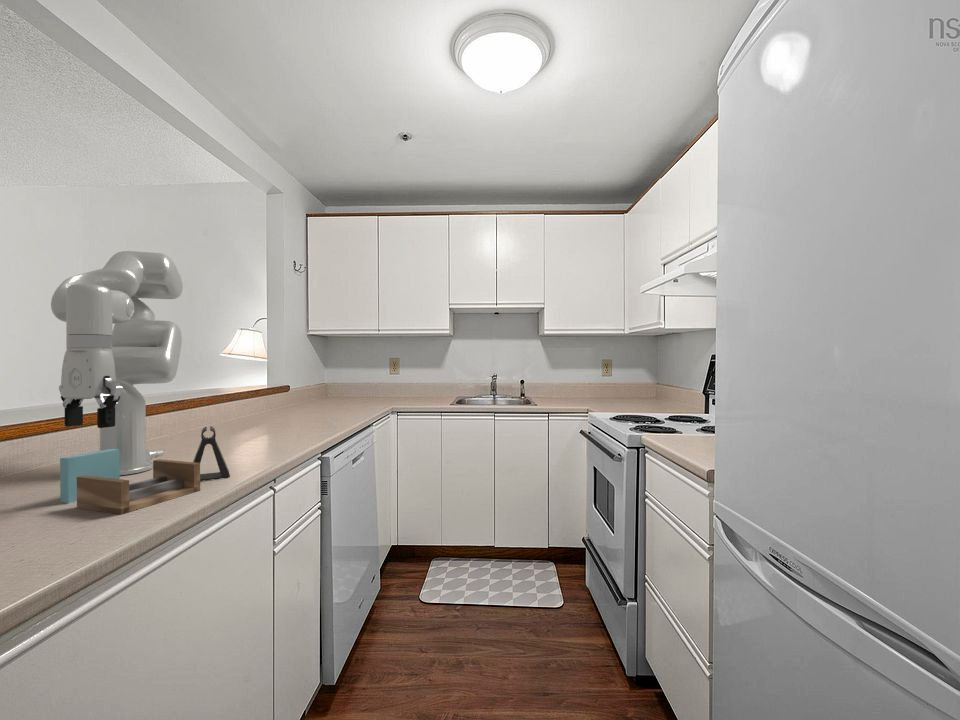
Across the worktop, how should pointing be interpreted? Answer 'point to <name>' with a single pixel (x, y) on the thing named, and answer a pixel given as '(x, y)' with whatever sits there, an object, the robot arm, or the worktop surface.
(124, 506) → the cabinet track
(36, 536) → the worktop surface
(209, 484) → the worktop surface
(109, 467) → the door panel
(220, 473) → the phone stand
